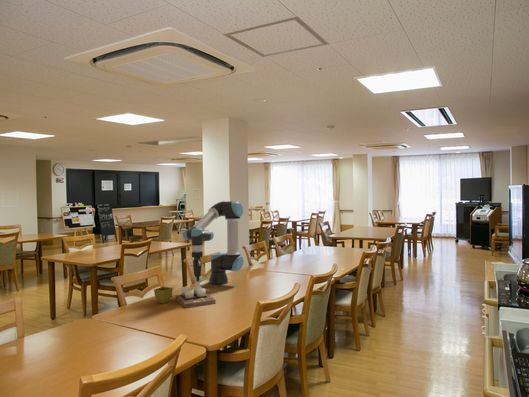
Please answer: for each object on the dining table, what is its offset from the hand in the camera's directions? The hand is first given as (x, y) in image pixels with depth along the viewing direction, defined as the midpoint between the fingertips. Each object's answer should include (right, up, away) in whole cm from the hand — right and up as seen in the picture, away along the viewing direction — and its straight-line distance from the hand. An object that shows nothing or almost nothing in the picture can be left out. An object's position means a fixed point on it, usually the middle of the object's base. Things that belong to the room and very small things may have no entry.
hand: (197, 285), depth 267 cm
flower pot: (-20, -9, -10) cm, 24 cm away
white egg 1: (-7, -5, -3) cm, 9 cm away
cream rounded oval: (-3, -5, -11) cm, 12 cm away
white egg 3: (+4, -5, -7) cm, 9 cm away
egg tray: (0, -8, -8) cm, 11 cm away
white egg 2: (0, -5, 0) cm, 5 cm away
